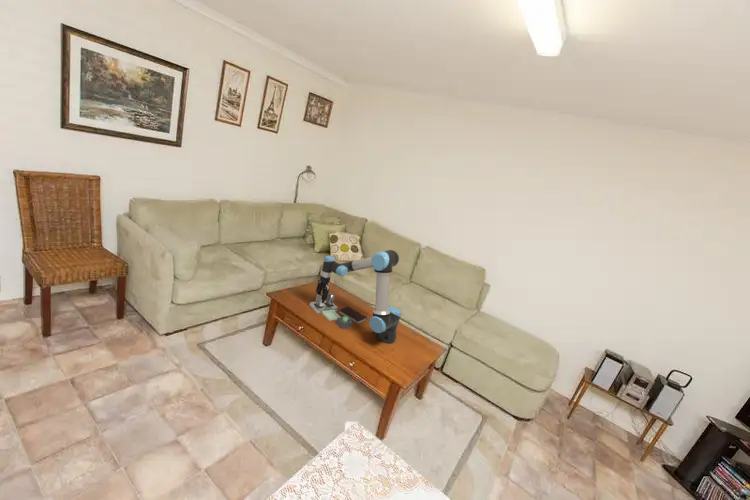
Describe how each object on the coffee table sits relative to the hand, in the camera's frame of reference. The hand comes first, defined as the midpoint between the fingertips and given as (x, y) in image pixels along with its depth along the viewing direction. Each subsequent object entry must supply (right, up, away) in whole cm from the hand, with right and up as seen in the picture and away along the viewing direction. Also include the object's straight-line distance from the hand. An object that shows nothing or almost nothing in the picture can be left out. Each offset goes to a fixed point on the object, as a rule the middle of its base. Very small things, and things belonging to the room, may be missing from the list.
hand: (319, 303), depth 263 cm
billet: (-1, -4, +1) cm, 4 cm away
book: (+25, -11, +4) cm, 27 cm away
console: (+20, -14, -13) cm, 27 cm away
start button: (+20, -12, -14) cm, 27 cm away
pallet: (+2, -4, +4) cm, 6 cm away
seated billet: (+6, -4, +7) cm, 10 cm away
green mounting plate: (+9, -9, -5) cm, 14 cm away
